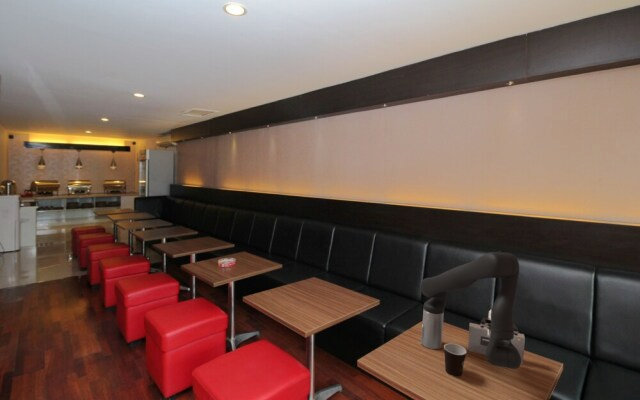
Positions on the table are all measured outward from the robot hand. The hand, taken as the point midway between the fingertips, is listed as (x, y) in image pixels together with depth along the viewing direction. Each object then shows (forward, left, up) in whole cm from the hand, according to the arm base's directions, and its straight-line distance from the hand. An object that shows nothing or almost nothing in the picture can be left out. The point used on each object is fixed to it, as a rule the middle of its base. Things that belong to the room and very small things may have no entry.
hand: (497, 319), depth 138 cm
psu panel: (0, +4, -19) cm, 20 cm away
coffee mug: (-15, -18, -19) cm, 30 cm away
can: (0, -2, -7) cm, 8 cm away
